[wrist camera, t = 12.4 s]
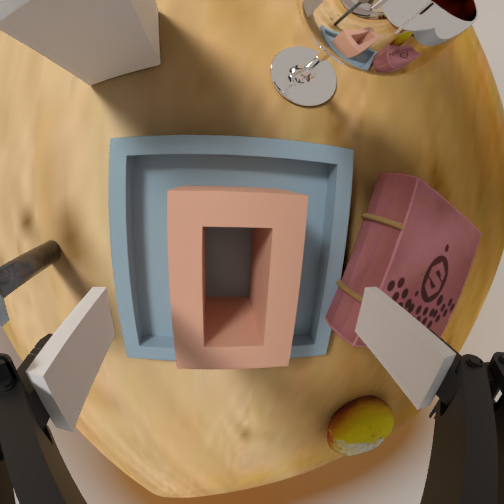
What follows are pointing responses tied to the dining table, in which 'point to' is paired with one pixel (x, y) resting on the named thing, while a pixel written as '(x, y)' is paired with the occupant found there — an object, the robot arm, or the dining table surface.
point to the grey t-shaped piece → (25, 271)
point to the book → (406, 256)
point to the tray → (221, 238)
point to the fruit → (360, 426)
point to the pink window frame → (261, 276)
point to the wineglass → (367, 41)
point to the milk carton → (87, 34)
